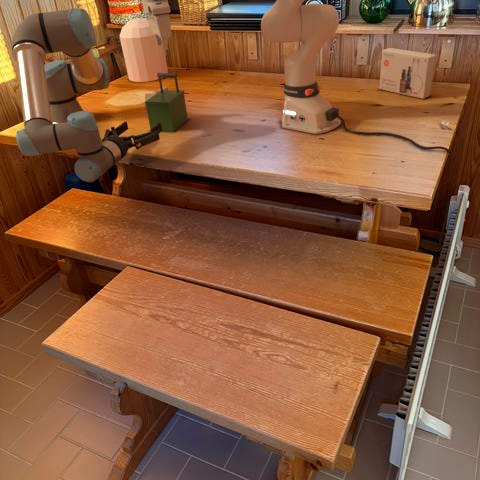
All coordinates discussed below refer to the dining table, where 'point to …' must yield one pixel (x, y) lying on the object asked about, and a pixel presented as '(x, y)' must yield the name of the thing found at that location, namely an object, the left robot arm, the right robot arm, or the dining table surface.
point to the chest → (168, 114)
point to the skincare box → (407, 72)
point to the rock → (149, 95)
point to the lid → (165, 92)
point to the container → (142, 51)
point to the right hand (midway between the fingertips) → (162, 47)
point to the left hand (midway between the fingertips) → (143, 125)
